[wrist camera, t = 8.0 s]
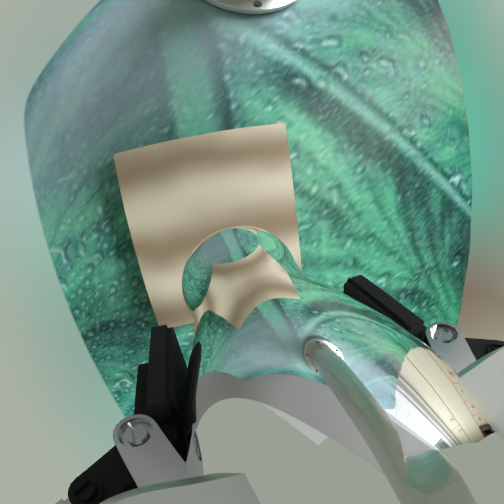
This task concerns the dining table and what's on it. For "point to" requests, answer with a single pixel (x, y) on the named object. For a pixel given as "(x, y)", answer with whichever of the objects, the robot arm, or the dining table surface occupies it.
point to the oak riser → (203, 201)
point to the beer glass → (322, 390)
